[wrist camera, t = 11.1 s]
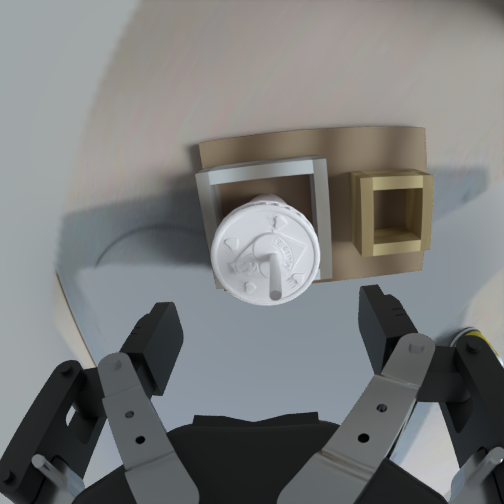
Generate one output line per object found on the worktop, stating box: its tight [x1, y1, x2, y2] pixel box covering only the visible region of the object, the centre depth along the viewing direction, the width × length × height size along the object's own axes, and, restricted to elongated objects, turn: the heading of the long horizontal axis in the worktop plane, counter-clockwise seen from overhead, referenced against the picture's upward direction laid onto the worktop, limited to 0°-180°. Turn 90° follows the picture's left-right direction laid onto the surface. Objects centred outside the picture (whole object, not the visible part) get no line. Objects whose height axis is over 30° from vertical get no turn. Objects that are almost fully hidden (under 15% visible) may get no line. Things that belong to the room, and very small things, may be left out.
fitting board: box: [195, 127, 433, 291], centre depth 25 cm, size 20×14×5 cm
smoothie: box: [211, 193, 320, 306], centre depth 20 cm, size 6×6×14 cm
